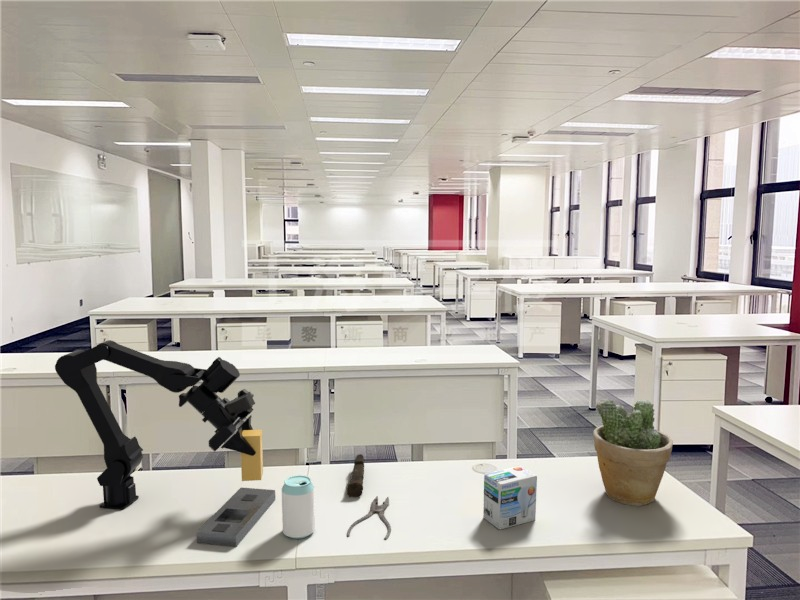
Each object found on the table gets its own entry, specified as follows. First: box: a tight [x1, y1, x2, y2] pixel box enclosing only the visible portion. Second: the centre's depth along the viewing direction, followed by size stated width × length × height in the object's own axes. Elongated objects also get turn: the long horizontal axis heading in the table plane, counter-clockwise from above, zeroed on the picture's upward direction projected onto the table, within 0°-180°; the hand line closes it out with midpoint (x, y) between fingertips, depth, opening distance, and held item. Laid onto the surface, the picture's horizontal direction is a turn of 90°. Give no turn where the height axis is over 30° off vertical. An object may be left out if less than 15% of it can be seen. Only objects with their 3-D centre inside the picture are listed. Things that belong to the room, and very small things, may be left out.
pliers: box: [346, 495, 392, 541], centre depth 138 cm, size 10×1×20 cm
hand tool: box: [346, 453, 365, 498], centre depth 157 cm, size 19×4×5 cm, turn 177°
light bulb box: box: [482, 465, 538, 530], centre depth 137 cm, size 11×7×11 cm, turn 117°
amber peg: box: [240, 429, 264, 482], centre depth 143 cm, size 4×4×11 cm
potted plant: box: [592, 398, 674, 507], centre depth 147 cm, size 18×19×25 cm
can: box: [281, 474, 316, 540], centre depth 131 cm, size 7×7×12 cm
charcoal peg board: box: [196, 487, 276, 548], centre depth 137 cm, size 9×22×3 cm, turn 170°
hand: (257, 450), depth 143 cm, fingers closed on amber peg, 5 cm apart
